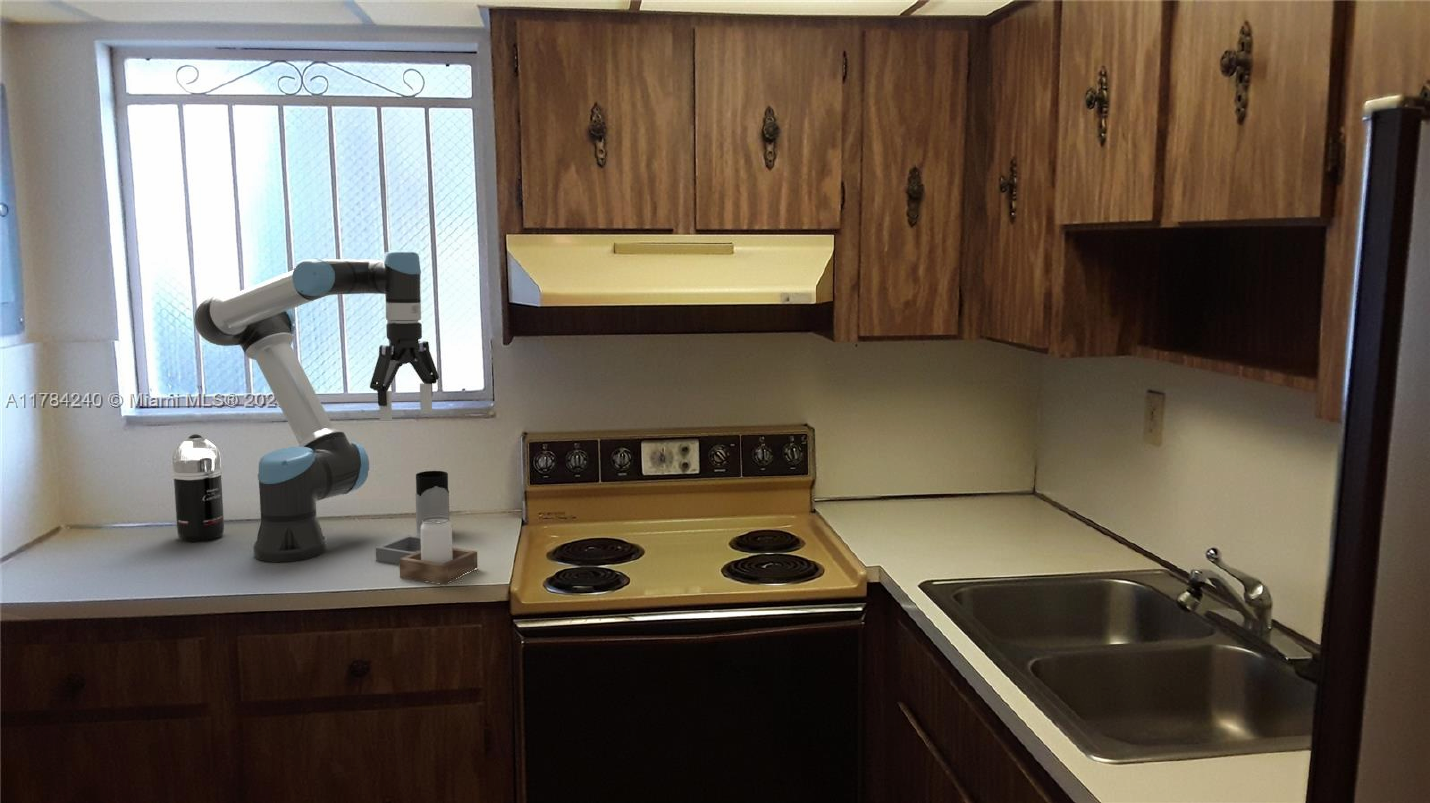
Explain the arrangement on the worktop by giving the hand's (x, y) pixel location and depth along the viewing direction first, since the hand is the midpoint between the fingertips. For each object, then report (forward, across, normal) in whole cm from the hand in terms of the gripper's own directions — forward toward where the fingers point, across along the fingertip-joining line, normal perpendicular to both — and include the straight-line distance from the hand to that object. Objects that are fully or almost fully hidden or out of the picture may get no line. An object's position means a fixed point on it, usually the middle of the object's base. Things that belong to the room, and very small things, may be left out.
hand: (406, 416), depth 222 cm
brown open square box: (+32, -10, -16) cm, 37 cm away
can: (+32, -10, -15) cm, 37 cm away
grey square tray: (+32, -3, -3) cm, 32 cm away
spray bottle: (+32, -12, +52) cm, 62 cm away
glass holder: (+32, +16, +7) cm, 36 cm away
